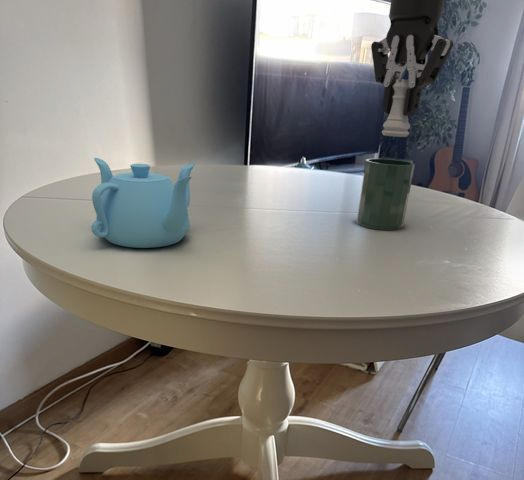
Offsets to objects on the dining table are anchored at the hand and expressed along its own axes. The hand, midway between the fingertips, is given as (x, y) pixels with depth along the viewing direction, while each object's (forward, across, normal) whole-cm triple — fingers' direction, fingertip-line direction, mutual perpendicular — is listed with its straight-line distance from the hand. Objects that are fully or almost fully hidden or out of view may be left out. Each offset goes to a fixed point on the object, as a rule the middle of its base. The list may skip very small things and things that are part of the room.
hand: (398, 114), depth 77 cm
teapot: (+18, +11, +39) cm, 44 cm away
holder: (+18, 0, 0) cm, 18 cm away
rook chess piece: (+3, 0, 0) cm, 3 cm away
